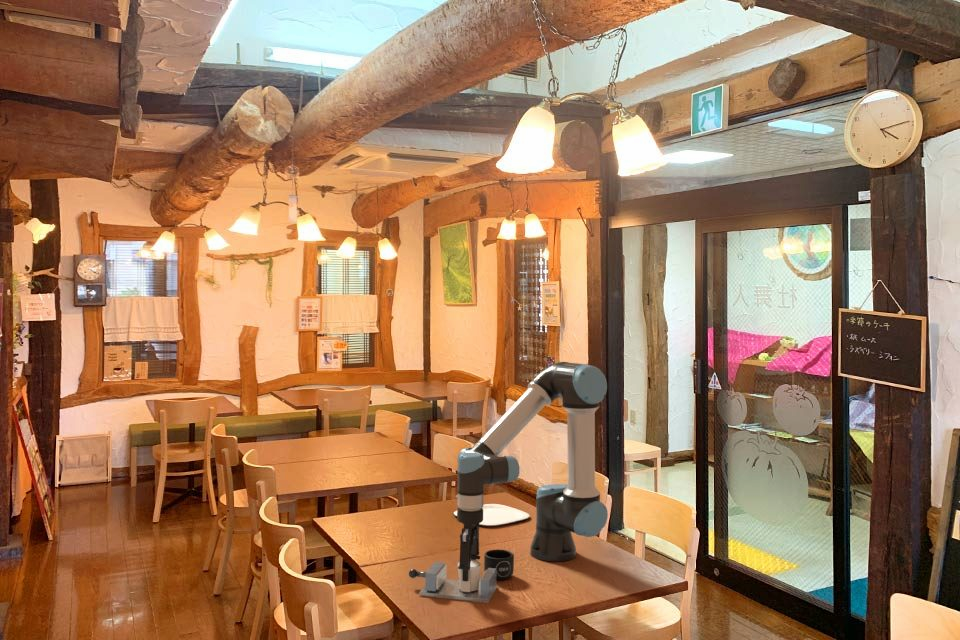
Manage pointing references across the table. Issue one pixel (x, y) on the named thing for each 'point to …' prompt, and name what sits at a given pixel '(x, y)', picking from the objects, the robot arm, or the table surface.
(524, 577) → the table surface
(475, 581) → the white cylinder
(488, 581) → the vise
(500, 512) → the plate
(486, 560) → the mug
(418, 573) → the jaw
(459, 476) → the robot arm
